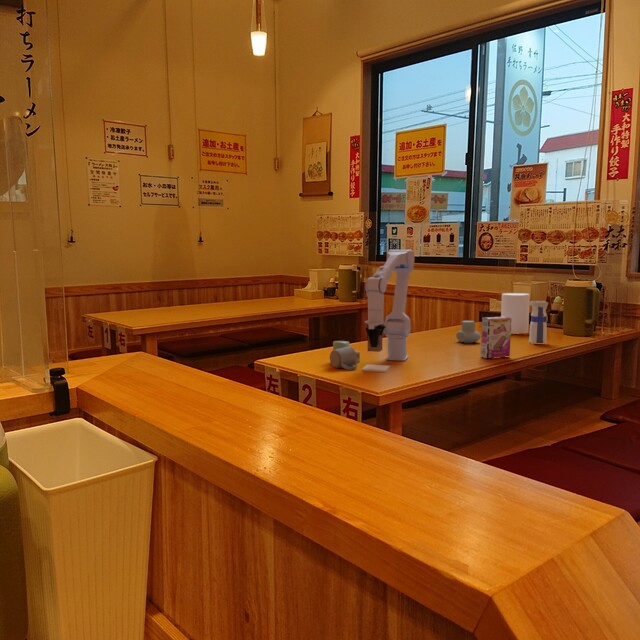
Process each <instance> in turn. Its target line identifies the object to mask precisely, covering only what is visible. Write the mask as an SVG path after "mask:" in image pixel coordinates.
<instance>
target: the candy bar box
mask: <svg viewBox="0 0 640 640" xmlns="http://www.w3.org/2000/svg"><path fill="white" fill-rule="evenodd" d="M511 336H512V335H511V318H509V317H501V316H493V317H492V316H490V317H481V334H480V338H481V339H480V357H481V356H482V357H485V358H494V357H505V356H510V355H511V353H510V352H511ZM482 357H481V358H482ZM510 357H511V356H510ZM485 358H484V359H485Z"/></svg>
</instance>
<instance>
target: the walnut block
mask: <svg viewBox="0 0 640 640" xmlns="http://www.w3.org/2000/svg"><path fill="white" fill-rule="evenodd" d="M381 351H383V334H382V335H379V338H378V344H377V347H371V345H370V340H369V336H368V335H367V352H381Z"/></svg>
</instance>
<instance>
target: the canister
mask: <svg viewBox="0 0 640 640" xmlns="http://www.w3.org/2000/svg"><path fill="white" fill-rule="evenodd" d="M530 299H531V298H530V293H524V292H506V293H505V292H504V293H501V308H500V309H501V310H500V313H501V314H500V317H509V318H511V333H514V334H515V333H516V334H519V333H528V334H529V328H530V324H529V321H530Z"/></svg>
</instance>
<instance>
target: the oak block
mask: <svg viewBox="0 0 640 640" xmlns="http://www.w3.org/2000/svg"><path fill="white" fill-rule="evenodd" d="M355 352H356V355H357V361H356V362H357V363H360V360H361V359H360V351H359V350H355Z"/></svg>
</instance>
